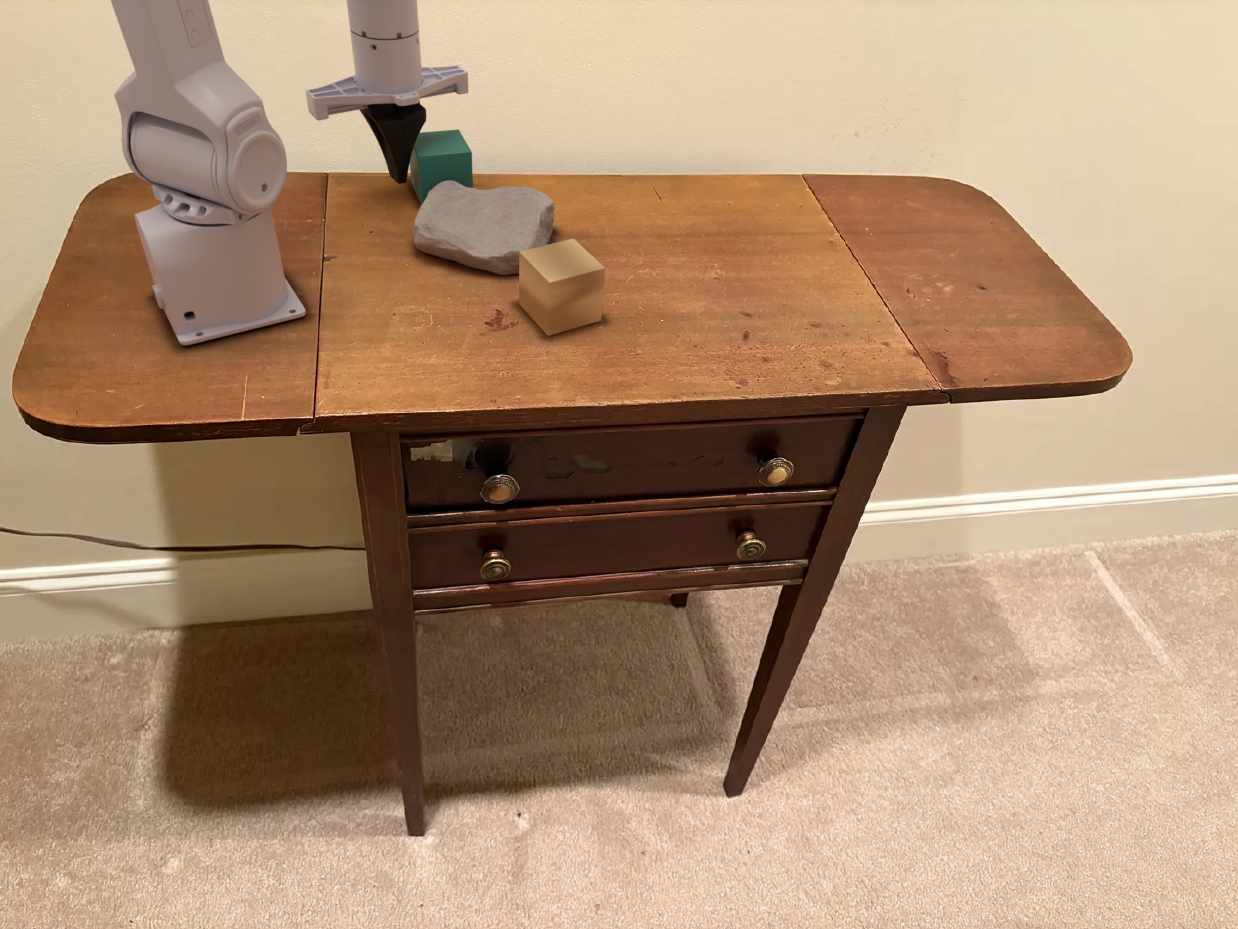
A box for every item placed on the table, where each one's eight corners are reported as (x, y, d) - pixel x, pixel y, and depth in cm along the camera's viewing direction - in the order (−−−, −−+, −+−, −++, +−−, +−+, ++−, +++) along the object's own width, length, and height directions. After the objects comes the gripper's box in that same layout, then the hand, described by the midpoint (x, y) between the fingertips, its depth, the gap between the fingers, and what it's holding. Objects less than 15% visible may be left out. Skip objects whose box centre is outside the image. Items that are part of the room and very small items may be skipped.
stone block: (542, 296, 80) (558, 221, 86) (539, 254, 76) (556, 178, 82) (408, 284, 81) (433, 210, 87) (398, 241, 77) (426, 167, 83)
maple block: (547, 336, 73) (549, 282, 70) (518, 304, 76) (519, 251, 73) (601, 320, 75) (605, 267, 72) (571, 290, 78) (573, 237, 75)
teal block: (421, 206, 87) (418, 156, 84) (411, 182, 90) (406, 132, 87) (473, 201, 89) (472, 151, 85) (461, 177, 92) (459, 128, 88)
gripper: (320, 56, 72) (342, 214, 81) (483, 32, 79) (486, 180, 88) (287, 27, 76) (311, 181, 85) (444, 6, 83) (451, 151, 92)
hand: (398, 178), depth 87 cm, fingers closed
